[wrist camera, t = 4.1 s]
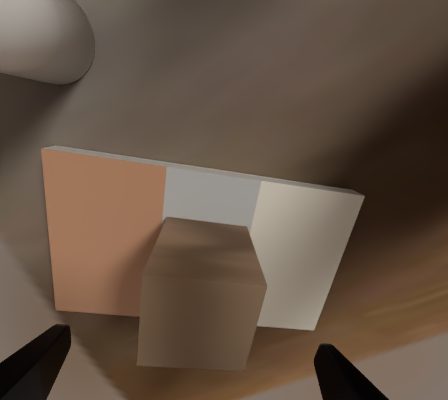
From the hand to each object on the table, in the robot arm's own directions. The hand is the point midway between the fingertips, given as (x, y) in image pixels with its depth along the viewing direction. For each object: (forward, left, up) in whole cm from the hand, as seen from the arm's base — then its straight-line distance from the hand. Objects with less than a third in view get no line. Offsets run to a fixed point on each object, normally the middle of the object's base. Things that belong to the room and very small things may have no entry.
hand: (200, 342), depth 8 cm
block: (0, 0, -6) cm, 6 cm away
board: (0, 0, -7) cm, 7 cm away
